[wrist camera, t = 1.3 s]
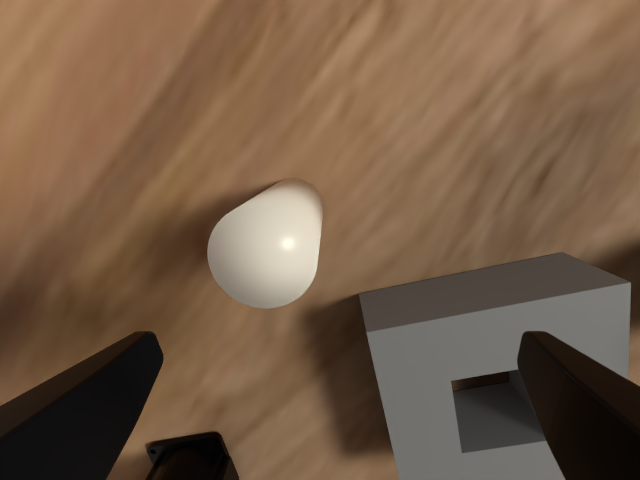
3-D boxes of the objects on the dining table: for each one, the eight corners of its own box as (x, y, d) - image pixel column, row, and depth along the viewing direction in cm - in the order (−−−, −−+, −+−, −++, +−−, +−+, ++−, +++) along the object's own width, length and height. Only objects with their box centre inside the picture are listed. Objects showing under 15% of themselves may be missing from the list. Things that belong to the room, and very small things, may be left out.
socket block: (392, 443, 26) (406, 509, 21) (358, 293, 22) (366, 332, 18) (567, 416, 25) (625, 480, 20) (562, 252, 21) (631, 282, 16)
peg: (272, 243, 22) (227, 317, 12) (256, 186, 21) (191, 217, 11) (329, 230, 21) (328, 297, 12) (315, 172, 20) (302, 191, 11)
